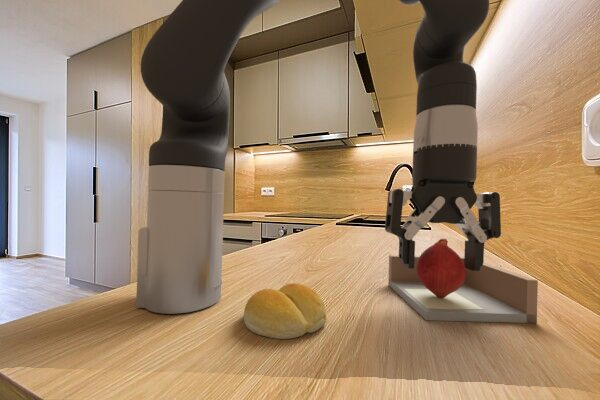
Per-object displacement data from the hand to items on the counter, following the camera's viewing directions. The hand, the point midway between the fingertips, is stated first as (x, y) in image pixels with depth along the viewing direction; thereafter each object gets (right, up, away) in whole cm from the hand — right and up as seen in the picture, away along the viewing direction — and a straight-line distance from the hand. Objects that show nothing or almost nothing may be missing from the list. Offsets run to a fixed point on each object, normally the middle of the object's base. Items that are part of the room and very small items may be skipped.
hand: (439, 268), depth 35 cm
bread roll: (-20, -5, -5) cm, 22 cm away
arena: (+3, -5, +2) cm, 6 cm away
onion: (0, -4, 0) cm, 4 cm away
